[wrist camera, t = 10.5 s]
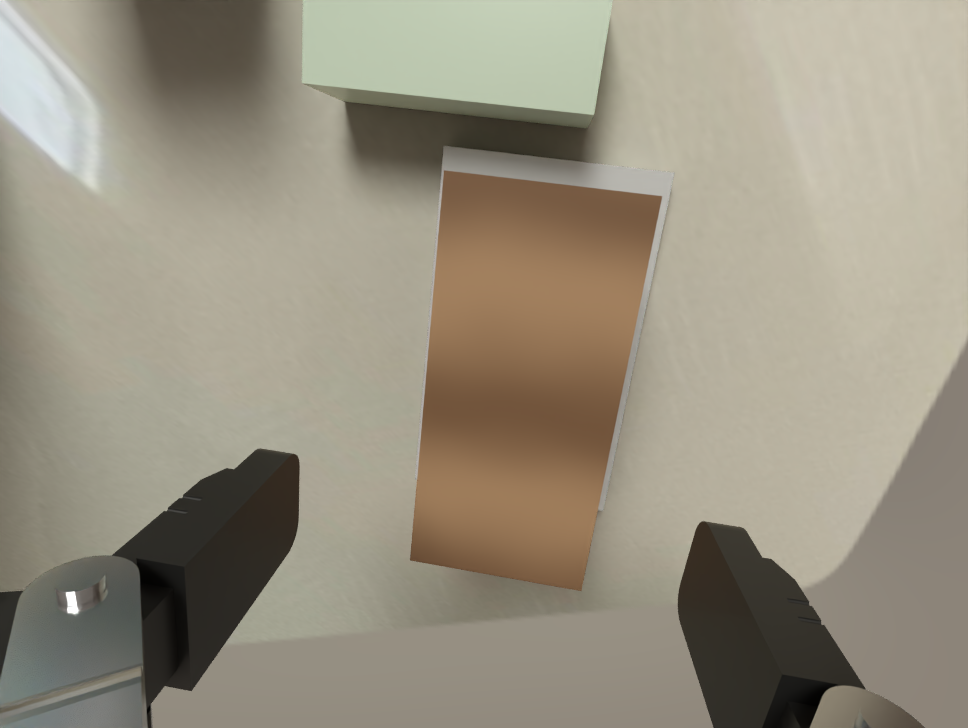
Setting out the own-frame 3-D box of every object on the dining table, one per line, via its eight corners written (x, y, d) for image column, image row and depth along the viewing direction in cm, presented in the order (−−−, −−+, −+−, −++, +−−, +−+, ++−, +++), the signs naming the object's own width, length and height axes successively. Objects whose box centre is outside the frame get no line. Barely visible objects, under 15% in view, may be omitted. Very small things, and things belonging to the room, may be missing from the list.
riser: (344, 101, 23) (301, 82, 19) (348, -23, 21) (303, -70, 18) (587, 128, 22) (594, 115, 18) (607, 1, 20) (619, -43, 17)
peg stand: (419, 469, 27) (391, 527, 23) (448, 147, 23) (420, 135, 18) (601, 499, 27) (611, 566, 22) (669, 173, 22) (700, 168, 17)
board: (461, 173, 18) (443, 170, 15) (645, 195, 18) (662, 196, 15) (428, 513, 22) (409, 560, 19) (577, 538, 22) (581, 590, 19)
